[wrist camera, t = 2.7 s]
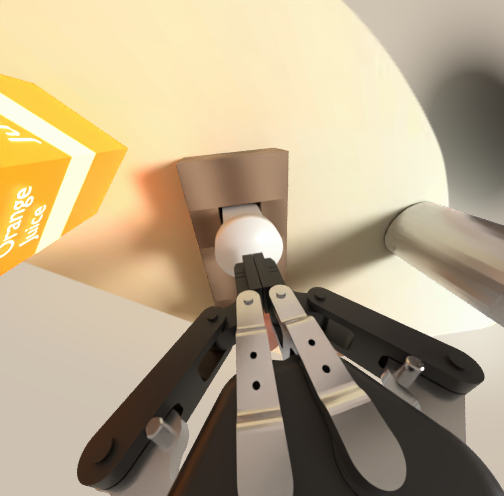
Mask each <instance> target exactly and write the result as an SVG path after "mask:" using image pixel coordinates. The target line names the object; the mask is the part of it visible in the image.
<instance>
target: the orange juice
mask: <svg viewBox="0 0 504 496" xmlns="http://www.w3.org/2000/svg"><path fill="white" fill-rule="evenodd" d="M127 149H128V148H127V147H125V146H124V145H122V144H121V143H119V142H118V141H116V140H115V139H114V138H112V137H111V136H109V135H108V134H106V133H105V132H103V131H102V130H101V129H99V128H98V127H96V126H95V125H93V124H92V123H90V122H89V121H87V120H86V119H85V118H83V117H82V116H80V115H79V114H77V113H76V112H74V111H73V110H72V109H70V108H69V107H67V106H66V105H64V104H63V103H61V102H60V101H58V100H57V99H56V98H54V97H53V96H51V95H50V94H48V93H47V92H45V91H44V90H43V89H41V88H40V87H38V86H37V85H35V84H34V83H30V82H27V81H23V80H20V79H16V78H13V77H9V76H5V75H2V74H0V276H1V275H2V274H4V273H5V272H7V271H8V270H10V269H11V268H13V267H15V266H16V265H18V264H19V263H21V262H22V261H24V260H25V259H27V258H28V257H30V256H32V255H33V254H36V253H38V252H39V251H41V250H42V249H44V248H45V247H47V246H48V245H50V244H51V243H53V242H54V241H56V240H57V239H59V238H60V237H61V236H62V235H64V234H65V233H67V232H68V231H70V230H71V229H73V228H75V227H76V226H78V225H79V224H81V223H82V222H84V221H85V220H87V219H88V218H90V217H91V216H93V215H95V214H96V213H97V211H98V209H99V207H100V205H101V203H102V201H103V199H104V197H105V195H106V192H107V190H108V188H109V186H110V184H111V182H112V180H113V178H114V176H115V174H116V172H117V170H118V168H119V166H120V164H121V162H122V160H123V158H124V156H125V153H126V151H127Z"/></svg>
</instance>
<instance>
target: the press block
mask: <svg viewBox="0 0 504 496" xmlns="http://www.w3.org/2000/svg"><path fill="white" fill-rule="evenodd" d="M288 153H289V151H286V150H281V149H277V148H268V149H259V150H250V151H241V152H232V153H222V154H213V155H204V156H195V157H186V158H183V159H182V160H180V161H179V162H177V163H176V167H177V171H178V174H179V178H180V181H181V185H182V188H183V192H184V195H185V199H186V202H187V206H188V210H189V213H190V217H191V220H192V224H193V227H194V231H195V234H196V238H197V241H198V245H199V248H200V252H201V255H202V259H203V262H204V266H205V269H206V273H207V276H208V280H209V284H210V287H211V291H212V294H213V298H214V301H215V305H216V306H219V307H222V308H223V309H224V308H226V307H228V306H230V305H231V304H233V303H234V302H235V300H236V298H237V290H236V282H235V277H233V276H231V275H229V274H227V273H226V272H224V271H223V270H222V269H221V268H220V266H219V265H218V263H217V261H216V258H215V238H216V234H217V232H218V230H219V228H220V227H221V226H222V224H223V221H222V215H221V210H220V207H226V206H233V205H240V204H248V203H256V204H257V206H258V208H259V210H260V211H261V213H262V215H263V216H264V217H266V218H267V219H269V220H270V221H271V222H272V223H273V225H274V226H275V228H276V229H277V231H278V233H279V234H280V236H281V238H282V242H283V251H282V255H281V258H280V260H279V261H278V263H277V264H276V265H277V267H278V269H279V271H280V273H281V275H282V278H283V280H284V282H285V284H286V252H287V202H288Z"/></svg>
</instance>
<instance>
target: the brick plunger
mask: <svg viewBox="0 0 504 496" xmlns="http://www.w3.org/2000/svg"><path fill="white" fill-rule="evenodd" d="M263 317H264V323H265V327H266V330H267V336H268V342H269V347H270V351H272V350H273V349H275V348H276V347H277V346H278V342H277V340H276V337H275V334H274V332H273V329H272V326H271V323H270V316H269V313H267V314H265V312H264V314H263Z"/></svg>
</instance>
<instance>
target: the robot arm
mask: <svg viewBox="0 0 504 496" xmlns="http://www.w3.org/2000/svg"><path fill="white" fill-rule="evenodd" d="M385 245H386V247H387V249H388V250H390V251H391V252H393V253H394V254H395V255H397V256H398V257H400V258H401V259H403V260H404V261H406V262H407V263H409V264H410V265H411V266H413V267H414V268H416V269H417V270H419V271H420V272H422V273H423V274H425V275H426V276H428V277H429V278H431V279H432V280H434V281H435V282H437V283H438V284H440V285H441V286H443V287H444V288H446V289H447V290H449V291H450V292H452V293H453V294H455V295H456V296H458V297H459V298H461V299H462V300H464V301H465V302H467V303H468V304H470V305H471V306H473V307H474V308H476V309H477V310H479V311H480V312H482V313H483V314H485V315H486V316H487V317H489V318H491V319H492V320H494V321H495V322H497V323H498V324H500V325H501V326H503V327H504V225H501V224H498V223H495V222H492V221H488V220H485V219H482V218H479V217H476V216H473V215H470V214H466V213H463V212H460V211H457V210H454V209H451V208H448V207H445V206H442V205H438V204H435V203H432V202H421V203H418V204H415V205H413V206H411V207H409V208H407V209H406V210H404V211H403V212H402V213H401V214H399V215H398V216H397V217H396V218H395V220H394V221H393V222H392V223H391V225H390V226H389V228H388V230H387V232H386V235H385ZM242 261H243V262H241V263H236V264H235V266H234V275H235V282H236V290H237V298H236V300H235V302H234V303H233V304H231V305H230V306H228V307H226V308H224V309H223V308H222V307H219V306H212V307H209V308H207V309H206V310H204V311H203V312H202V313H201V315H200V316H199V317H198V318H197V319H196V320H195V321H194V323H193V324H192V325H191V326H190V327H189V328H188V329H187V331H186V332H185V333H184V334H183V335H182V336H181V337H180V339H179V340H178V341H177V342H176V343H175V344H174V345H173V346H172V348H171V349H170V350H169V351H168V352H167V353H166V354H165V355H164V357H163V358H162V359H161V360H160V361H159V362H158V364H157V365H156V366H155V367H154V368H153V369H152V370H151V371H150V372H149V374H148V375H147V376H146V377H145V378H144V379H143V380H142V382H141V383H140V384H139V385H138V386H137V387H136V388H135V390H134V391H133V392H132V393H131V394H130V395H129V396H128V398H127V399H126V400H125V401H124V402H123V403H122V404H121V405H120V407H119V408H118V409H117V410H116V411H115V412H114V413H113V415H112V416H111V417H110V418H109V419H108V420H107V421H106V422H105V424H104V425H103V426H102V427H101V428H100V429H99V431H98V432H97V433H96V434H95V435H94V436H93V437H92V439H91V440H90V441H89V442H88V444H87V446H86V447H85V449H84V451H83V453H82V455H81V457H80V460H79V463H78V468H77V476H78V480H79V481H80V483H81V484H83V485H86V486H90V487H93V488H95V489H96V490H98V491H101V492H105V493H109V494H110V495H111V496H504V491H503V490H502V488H501V486H500V484H499V483H498V481H497V480H496V479H495V477H494V476H493V474H492V473H491V472H490V470H489V469H488V468H487V466H486V465H485V464H484V463H483V461H482V460H481V459H480V458H479V457H478V456H477V455H476V454H475V453H474V452H473V451H472V450H471V449H470V448H469V447H468V446H467V445H466V434H465V433H466V432H465V431H466V430H465V395H466V394H467V393H468V392H470V391H471V390H472V389H474V388H475V387H476V386H478V385H479V384H480V383H481V382H483V381H484V373H483V371H482V369H481V367H480V366H479V365H478V364H477V362H476V361H474V360H473V359H472V358H471V357H470V356H468V355H467V354H466V353H464V352H462V351H460V350H458V349H456V348H454V347H452V346H450V345H447V344H445V343H443V342H441V341H439V340H437V339H434V338H432V337H430V336H428V335H426V334H423V333H421V332H419V331H417V330H415V329H412V328H410V327H408V326H406V325H404V324H401V323H399V322H397V321H395V320H393V319H391V318H388V317H386V316H384V315H382V314H380V313H377V312H375V311H373V310H371V309H369V308H366V307H364V306H362V305H360V304H358V303H355V302H353V301H351V300H349V299H347V298H344V297H342V296H340V295H338V294H336V293H333V292H331V291H329V290H327V289H325V288H321V287H314V288H311V289H310V290H309V291H308V293H298V292H294V291H292V290H291V289H290V288H289V287H288V286H286V284H285V282H284V280H283V278H282V275H281V273H280V271H279V269H278V267H277V265H276V263H275V261H274V260H273V259H271V258H264V256H263V253H262V252H260V253H254V254H248V255H242ZM264 312H265V314H267V313H269V316H270V323H271V326H272V329H273V332H274V334H275V337H276V340H277V342H278V345H279V347H280V350H281V353H282V357H283V361H279V360H272V359H271V353H270V347H269V342H268V336H267V330H266V327H265V323H264V317H263V314H264ZM235 344H236V368H237V370H236V372H237V374H236V375H234V376H233V377H232V378H231V379H230V380H229V381H228V382H227V384H226V385H225V386H224V388H223V389H222V391H221V393H220V394H219V397H218V398H217V400H216V402H215V404H214V406H213V408H212V410H211V412H210V414H209V416H208V418H207V419H206V421H205V423H204V425H203V427H202V429H201V431H200V433H199V435H198V437H197V439H196V441H195V443H194V445H193V447H192V448H191V450H190V452H189V454H188V456H187V458H186V460H185V462H184V464H183V466H182V468H181V469H180V471H179V466H180V462H181V459H182V456H183V453H184V451H185V449H186V446H187V443H188V439H189V430H188V426H187V424H186V423H187V421H188V419H189V418H190V416H191V414H192V413H193V411H194V409H195V408H196V406H197V405H198V403H199V401H200V400H201V398H202V396H203V395H204V393H205V392H206V390H207V388H208V387H209V385H210V383H211V382H212V380H213V378H214V377H215V375H216V374H217V372H218V370H219V369H220V367H221V365H222V364H223V362H224V361H225V359H226V357H227V356H228V354H229V352H230V351H231V349H232V346H233V345H235ZM334 349H335V350H336V351H338V352H339V353H341V354H343V355H344V356H346V357H347V358H349V359H350V360H352V361H354V362H355V363H357V364H358V365H360V366H362V367H363V368H364V369H366V370H368V371H369V372H371V373H372V374H374V375H375V376H377V377H379V378H380V379H381V380H382V383H383V385H384V386H383V385H381V384H380V383H379V382H377V381H376V380H374V379H373V378H371V377H370V376H368V375H367V374H365V373H364V372H362V371H361V370H360V369H358V368H357V367H355V366H354V365H352V364H351V363H349V362H348V361H346V360H345V359H343V358H340V357H339V356H338V355H337V353H336V352H335V350H334Z"/></svg>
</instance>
